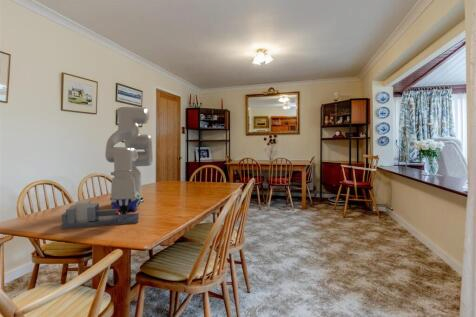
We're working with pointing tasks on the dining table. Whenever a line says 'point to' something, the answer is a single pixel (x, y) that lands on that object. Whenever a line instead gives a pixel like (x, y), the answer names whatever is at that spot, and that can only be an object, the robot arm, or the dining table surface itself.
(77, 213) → the steel block
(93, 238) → the dining table surface
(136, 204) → the toy
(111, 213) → the sliding jaw
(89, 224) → the vise
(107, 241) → the dining table surface
